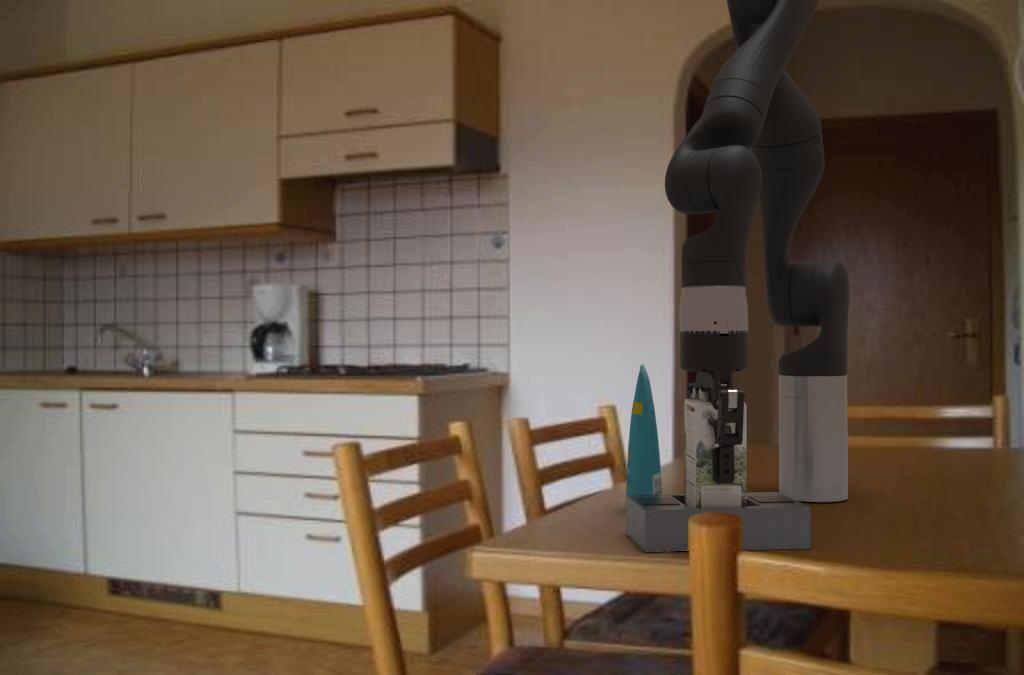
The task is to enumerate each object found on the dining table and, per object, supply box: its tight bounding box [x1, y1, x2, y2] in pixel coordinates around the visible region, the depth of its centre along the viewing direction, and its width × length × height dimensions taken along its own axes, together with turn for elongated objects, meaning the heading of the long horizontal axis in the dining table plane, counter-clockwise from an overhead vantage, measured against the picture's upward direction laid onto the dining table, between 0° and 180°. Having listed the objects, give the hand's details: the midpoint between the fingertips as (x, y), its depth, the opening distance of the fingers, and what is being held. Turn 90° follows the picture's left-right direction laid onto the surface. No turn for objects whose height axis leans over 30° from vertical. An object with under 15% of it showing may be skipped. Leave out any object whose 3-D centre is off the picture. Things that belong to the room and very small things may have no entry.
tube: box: [625, 363, 663, 496], centre depth 127 cm, size 7×5×19 cm, turn 175°
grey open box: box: [625, 491, 812, 553], centre depth 108 cm, size 10×18×5 cm, turn 95°
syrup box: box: [683, 398, 748, 508], centre depth 109 cm, size 6×6×14 cm
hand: (714, 478), depth 109 cm, fingers closed on syrup box, 6 cm apart
